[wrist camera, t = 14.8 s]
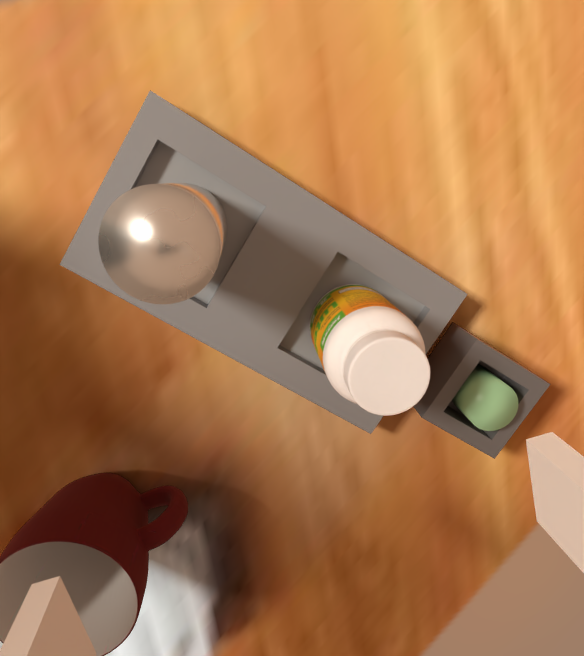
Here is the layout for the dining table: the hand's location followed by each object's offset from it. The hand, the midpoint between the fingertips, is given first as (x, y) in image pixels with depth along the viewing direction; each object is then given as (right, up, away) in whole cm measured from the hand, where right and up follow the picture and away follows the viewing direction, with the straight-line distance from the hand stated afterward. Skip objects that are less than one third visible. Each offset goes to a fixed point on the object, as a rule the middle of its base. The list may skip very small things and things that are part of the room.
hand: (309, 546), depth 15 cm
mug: (-12, -5, +23) cm, 27 cm away
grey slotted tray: (-2, +10, +20) cm, 22 cm away
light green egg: (+12, +2, +22) cm, 25 cm away
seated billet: (-7, +12, +17) cm, 22 cm away
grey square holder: (+11, +2, +23) cm, 26 cm away
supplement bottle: (+3, +6, +20) cm, 21 cm away
